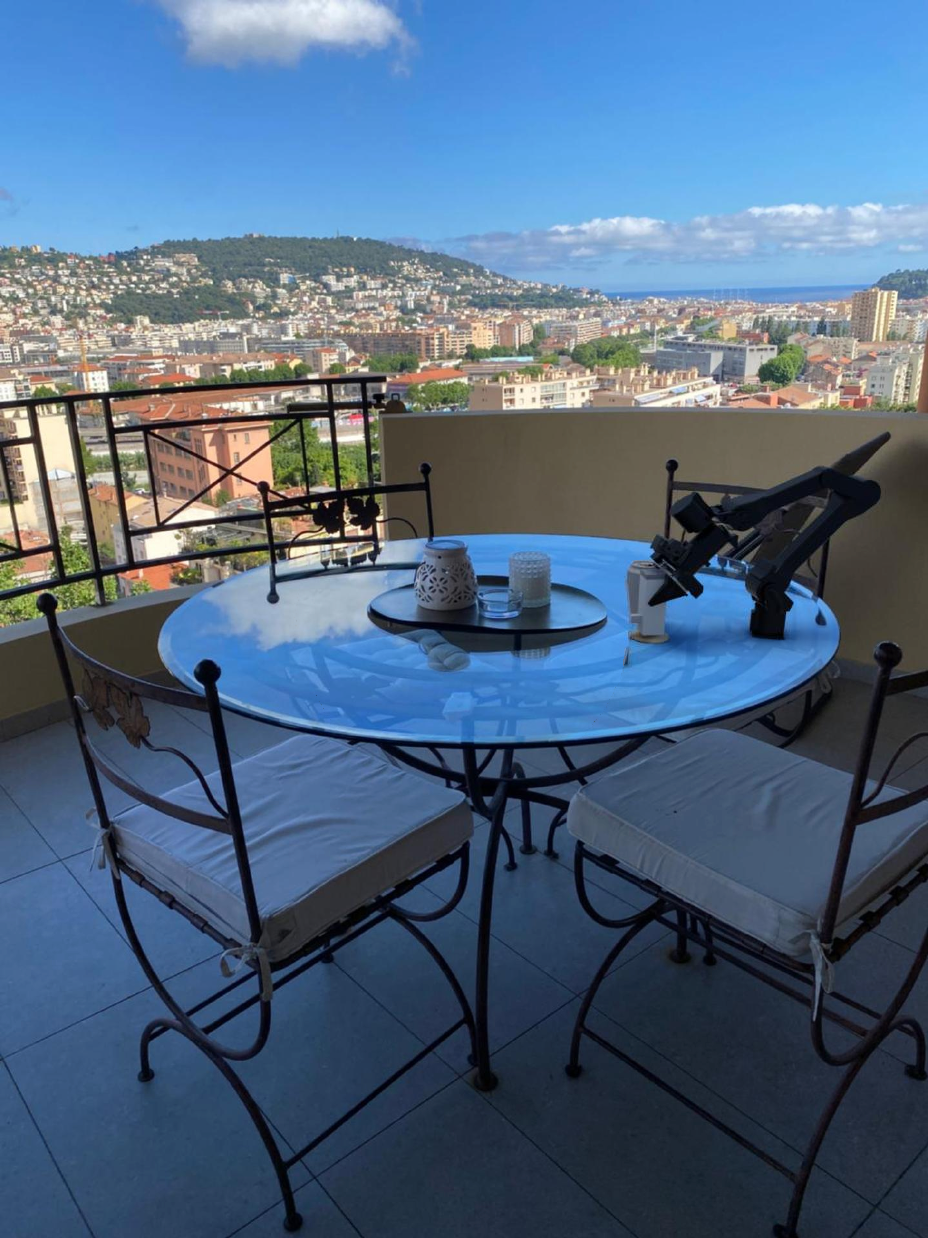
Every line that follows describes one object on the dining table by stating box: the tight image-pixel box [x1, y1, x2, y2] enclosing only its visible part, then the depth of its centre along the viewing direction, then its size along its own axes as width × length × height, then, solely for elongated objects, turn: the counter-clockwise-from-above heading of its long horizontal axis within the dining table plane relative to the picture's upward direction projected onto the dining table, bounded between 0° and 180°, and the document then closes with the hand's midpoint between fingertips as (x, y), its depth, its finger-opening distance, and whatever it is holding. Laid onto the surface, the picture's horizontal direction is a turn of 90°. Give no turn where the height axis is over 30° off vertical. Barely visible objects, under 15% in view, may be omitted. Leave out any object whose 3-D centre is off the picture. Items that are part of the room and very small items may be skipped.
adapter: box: [630, 569, 667, 635], centre depth 171 cm, size 8×4×13 cm, turn 95°
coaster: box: [629, 629, 670, 644], centre depth 173 cm, size 8×8×1 cm
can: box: [626, 559, 656, 615], centre depth 187 cm, size 8×8×12 cm
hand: (645, 601), depth 171 cm, fingers closed on adapter, 4 cm apart
